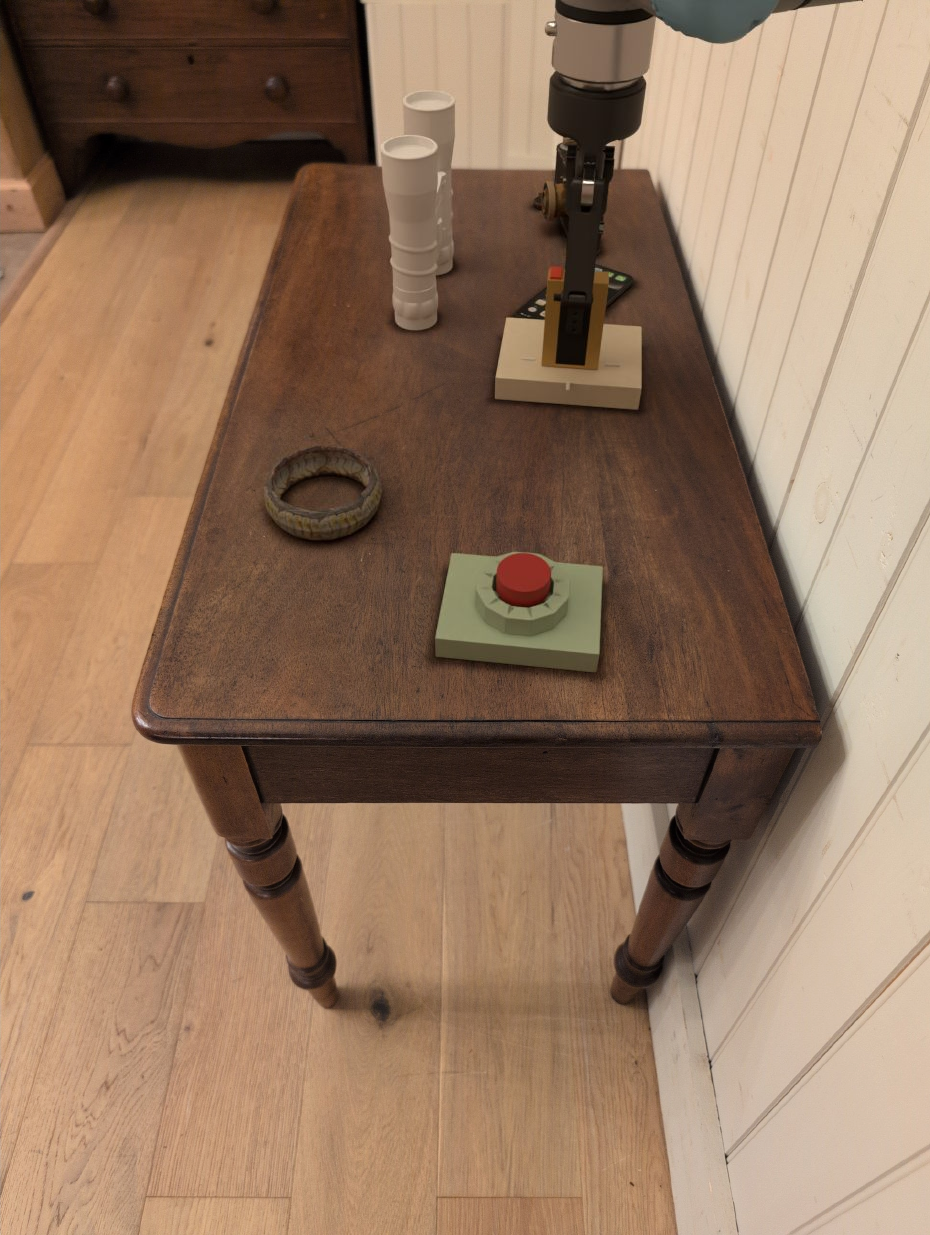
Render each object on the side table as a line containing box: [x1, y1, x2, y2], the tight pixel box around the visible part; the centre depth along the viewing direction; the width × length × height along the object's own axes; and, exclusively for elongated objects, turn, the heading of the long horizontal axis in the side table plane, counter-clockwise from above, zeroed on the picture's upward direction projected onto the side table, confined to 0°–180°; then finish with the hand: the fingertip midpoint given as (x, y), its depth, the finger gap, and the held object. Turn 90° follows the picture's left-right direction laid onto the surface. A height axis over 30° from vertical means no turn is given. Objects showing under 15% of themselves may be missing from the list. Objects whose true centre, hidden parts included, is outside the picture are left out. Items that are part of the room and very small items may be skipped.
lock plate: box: [494, 317, 643, 411], centre depth 92 cm, size 14×12×3 cm
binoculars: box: [379, 89, 456, 331], centre depth 97 cm, size 17×5×18 cm, turn 172°
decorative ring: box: [263, 444, 383, 541], centre depth 79 cm, size 10×3×10 cm
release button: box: [496, 552, 551, 607], centre depth 68 cm, size 4×4×2 cm
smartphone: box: [514, 263, 634, 320], centre depth 102 cm, size 7×1×15 cm
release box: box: [434, 551, 604, 673], centre depth 70 cm, size 12×9×4 cm
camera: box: [532, 137, 605, 255], centre depth 112 cm, size 16×7×8 cm, turn 7°
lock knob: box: [541, 265, 609, 370], centre depth 87 cm, size 6×2×9 cm, turn 83°
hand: (573, 330), depth 88 cm, fingers open, 10 cm apart
